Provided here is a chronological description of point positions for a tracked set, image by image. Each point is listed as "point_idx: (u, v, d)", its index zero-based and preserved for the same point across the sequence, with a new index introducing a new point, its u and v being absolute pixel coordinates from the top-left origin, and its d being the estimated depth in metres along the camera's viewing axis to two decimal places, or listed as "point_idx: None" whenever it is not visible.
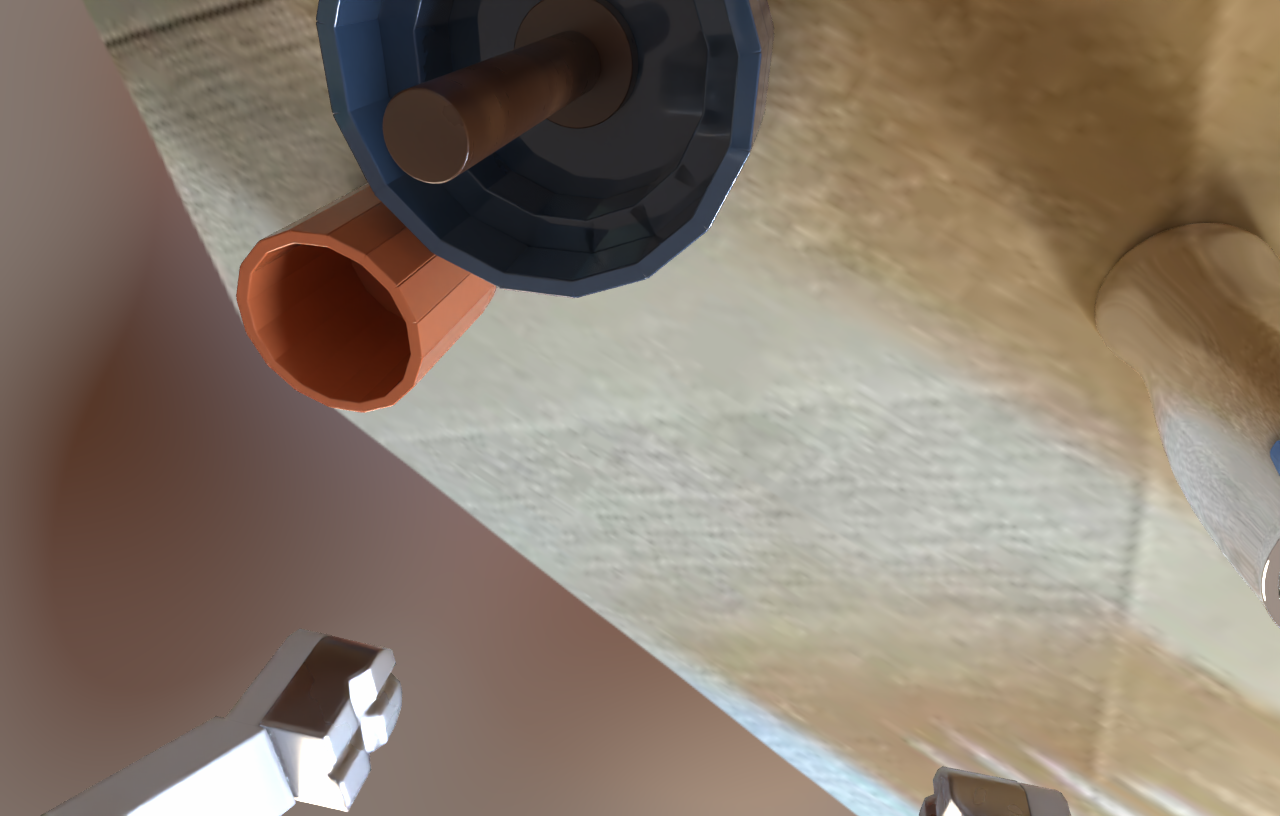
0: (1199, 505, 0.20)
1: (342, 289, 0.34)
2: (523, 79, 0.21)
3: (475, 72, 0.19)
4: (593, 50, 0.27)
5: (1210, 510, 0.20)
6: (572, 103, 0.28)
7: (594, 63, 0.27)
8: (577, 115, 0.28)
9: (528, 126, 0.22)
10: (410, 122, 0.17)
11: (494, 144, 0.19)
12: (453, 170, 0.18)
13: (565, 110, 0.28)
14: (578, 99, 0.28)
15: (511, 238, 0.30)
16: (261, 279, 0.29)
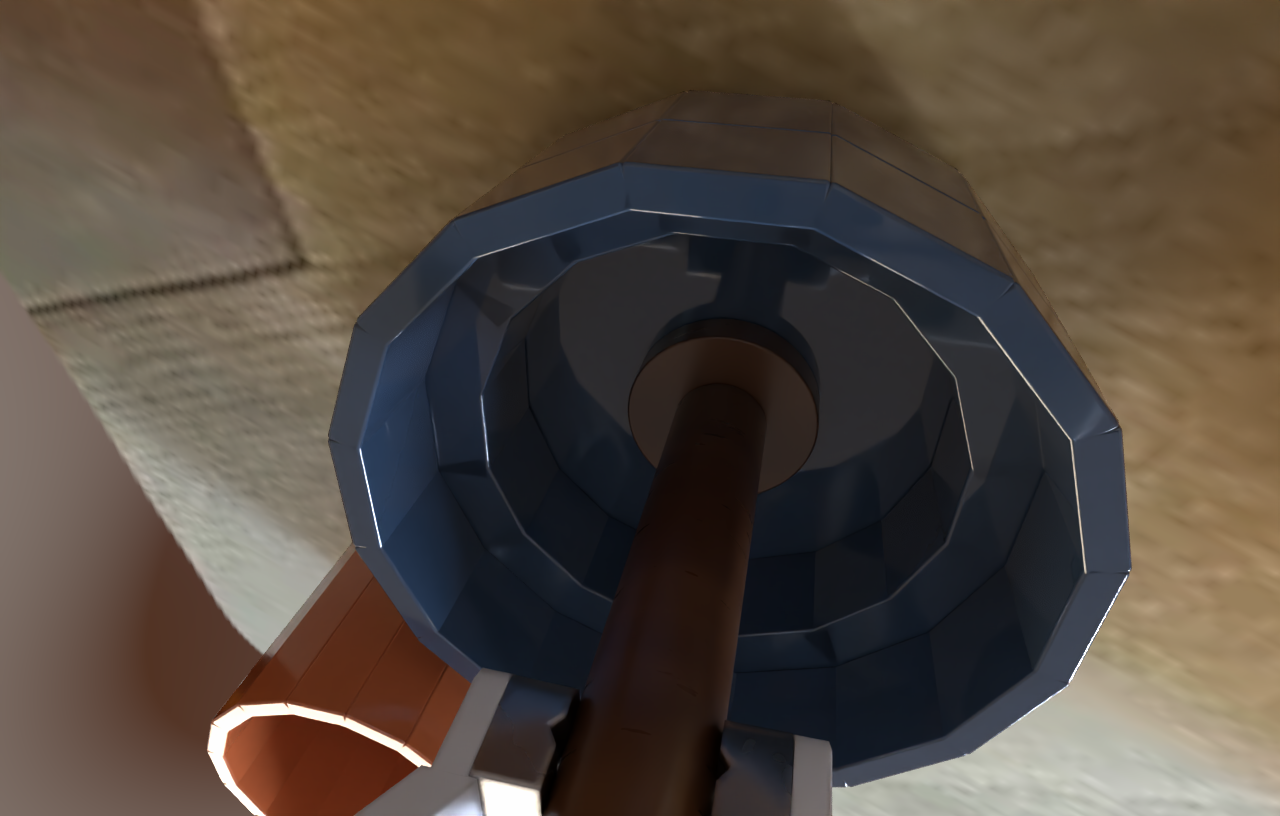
0: None
1: None
2: (718, 666, 0.11)
3: (655, 756, 0.10)
4: (760, 419, 0.17)
5: None
6: None
7: (763, 440, 0.17)
8: None
9: None
10: None
11: None
12: None
13: None
14: None
15: None
16: None
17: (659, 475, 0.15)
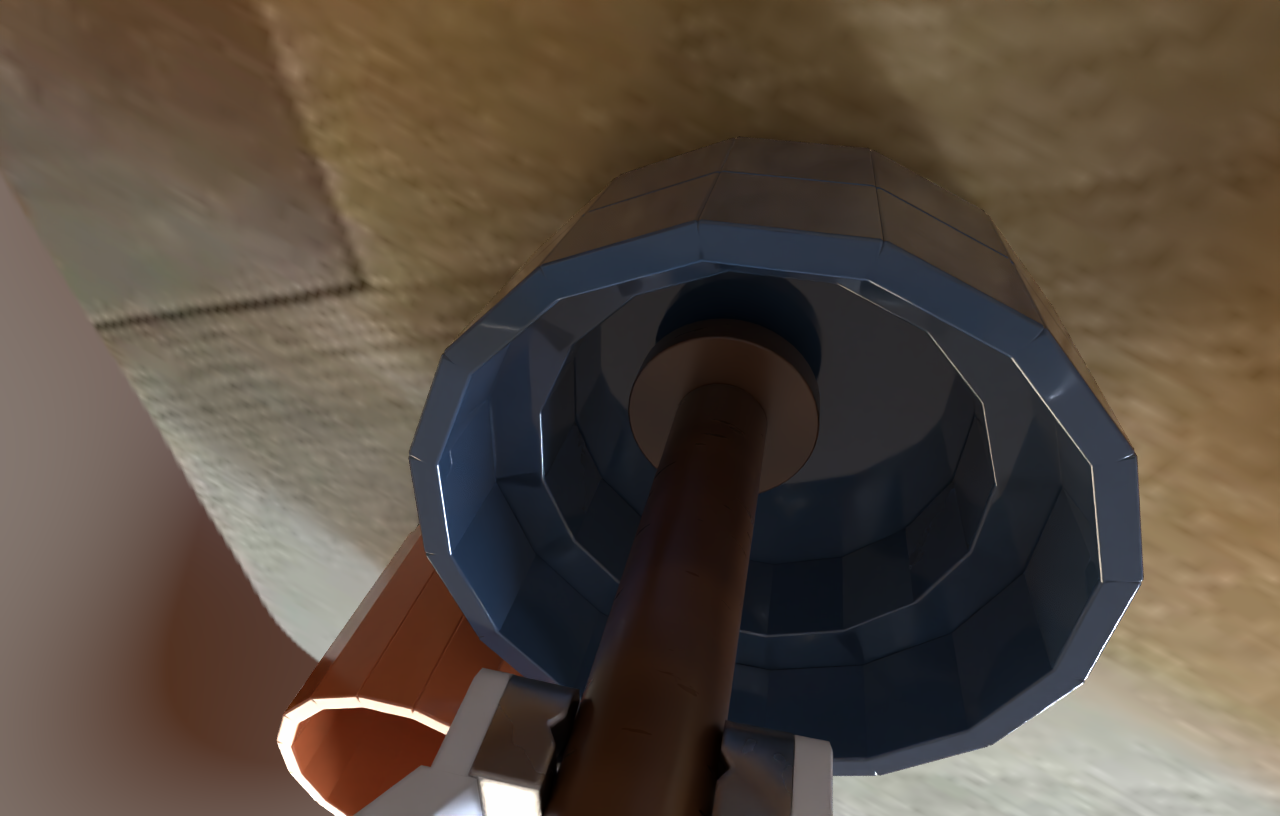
0: None
1: None
2: (719, 666, 0.11)
3: (656, 756, 0.10)
4: (761, 419, 0.17)
5: None
6: None
7: (763, 440, 0.17)
8: None
9: None
10: None
11: None
12: None
13: None
14: None
15: None
16: None
17: (660, 475, 0.15)
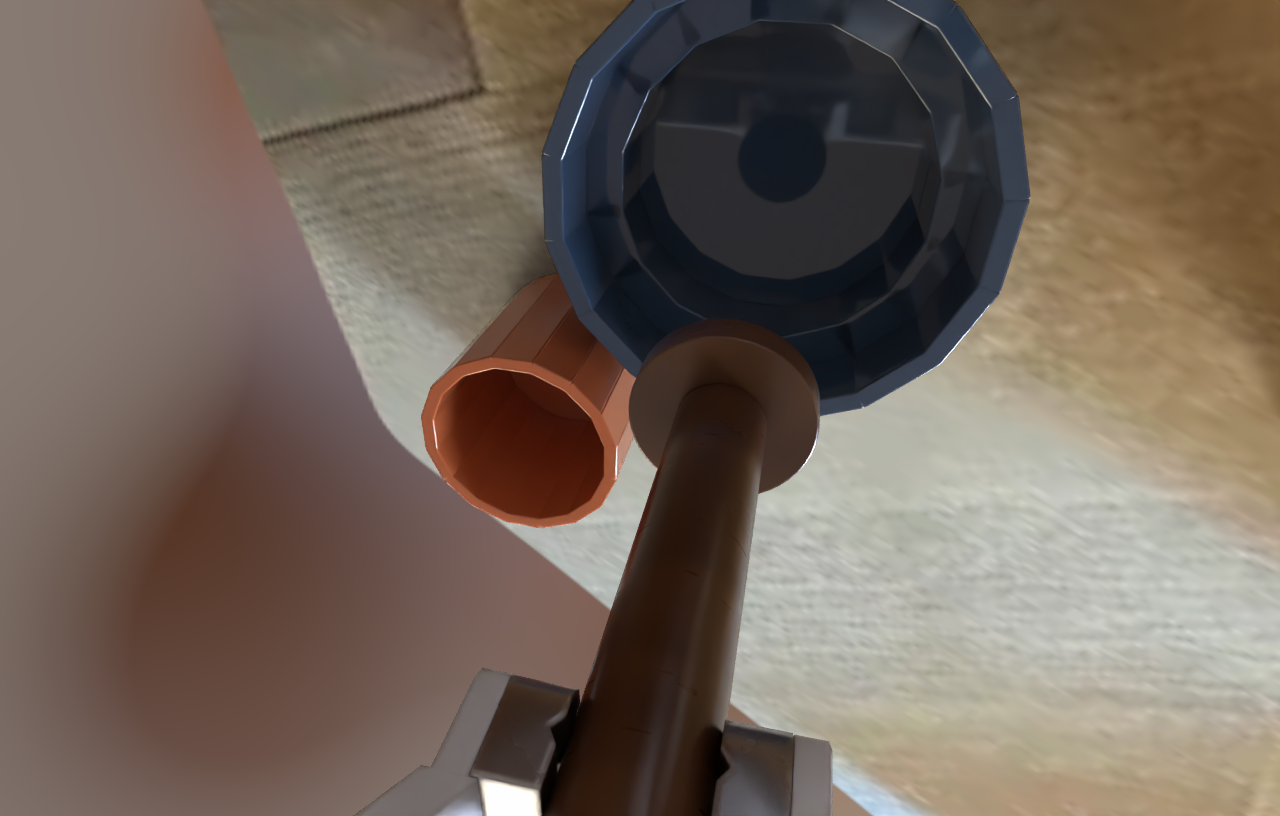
0: None
1: (498, 388, 0.34)
2: (719, 666, 0.11)
3: (656, 755, 0.10)
4: (761, 419, 0.17)
5: None
6: None
7: (764, 440, 0.17)
8: None
9: None
10: None
11: None
12: None
13: None
14: None
15: None
16: (446, 397, 0.28)
17: (660, 475, 0.15)
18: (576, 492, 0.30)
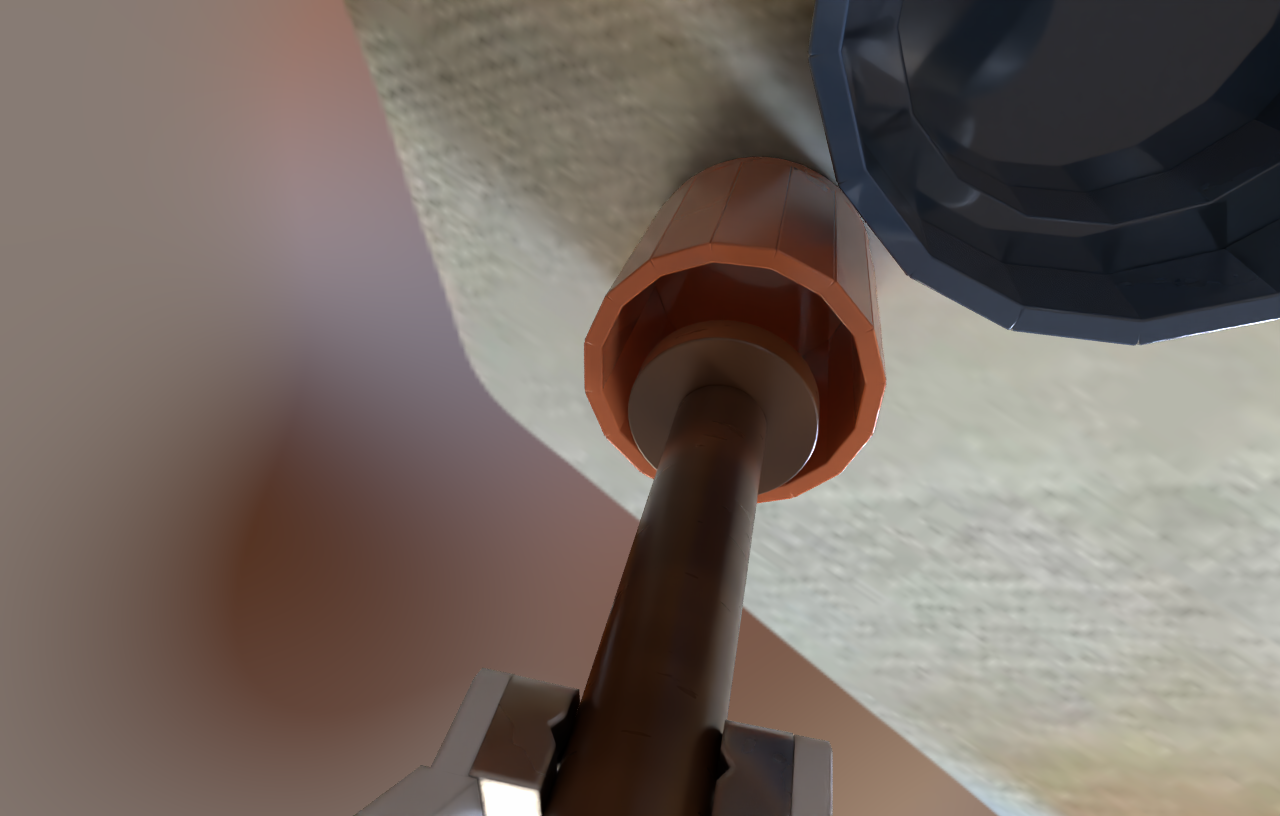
0: None
1: (652, 319, 0.25)
2: (718, 668, 0.11)
3: (655, 758, 0.10)
4: (761, 421, 0.17)
5: None
6: None
7: (763, 442, 0.17)
8: None
9: None
10: None
11: None
12: None
13: None
14: None
15: (979, 251, 0.20)
16: (619, 314, 0.19)
17: (659, 477, 0.15)
18: None
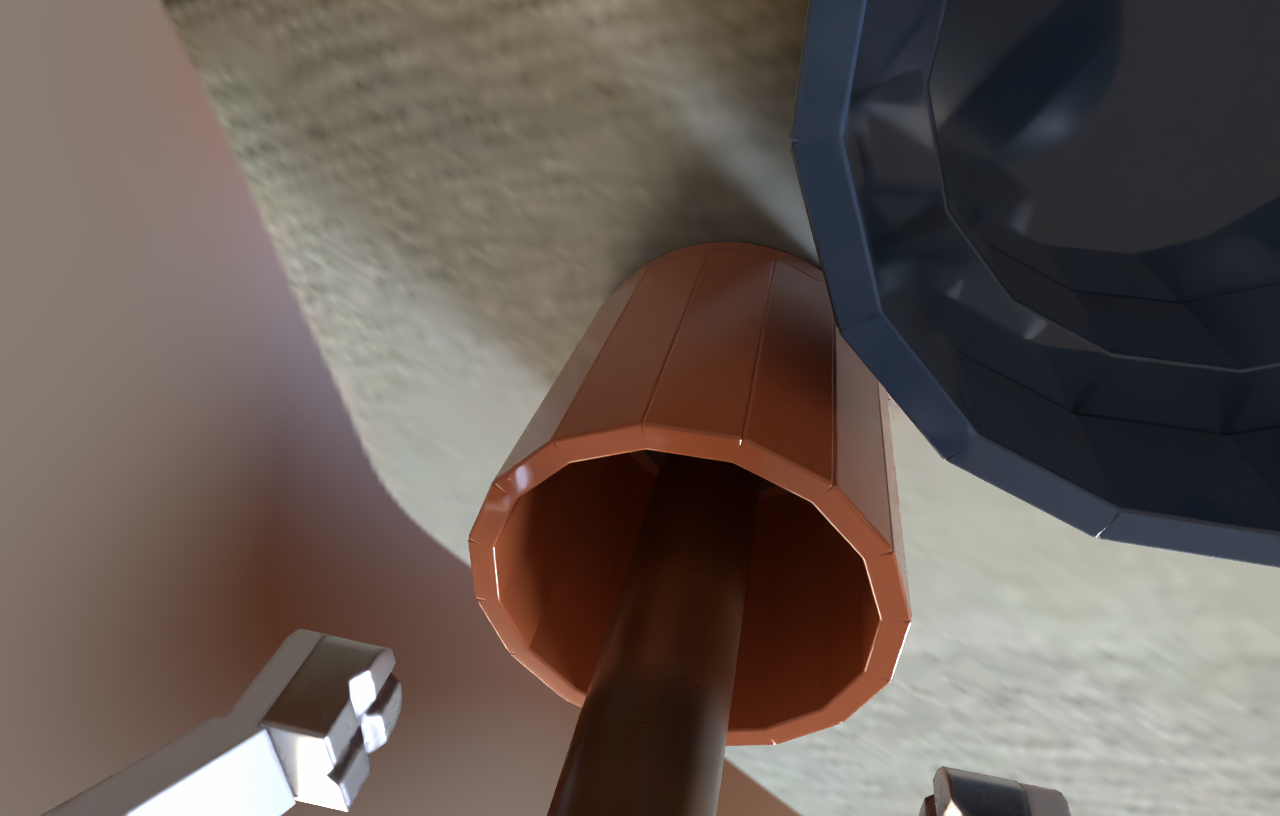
0: None
1: None
2: (721, 660, 0.11)
3: (661, 746, 0.10)
4: None
5: None
6: None
7: None
8: None
9: None
10: None
11: None
12: None
13: None
14: None
15: (1041, 399, 0.14)
16: (520, 496, 0.13)
17: (662, 474, 0.15)
18: (767, 670, 0.15)
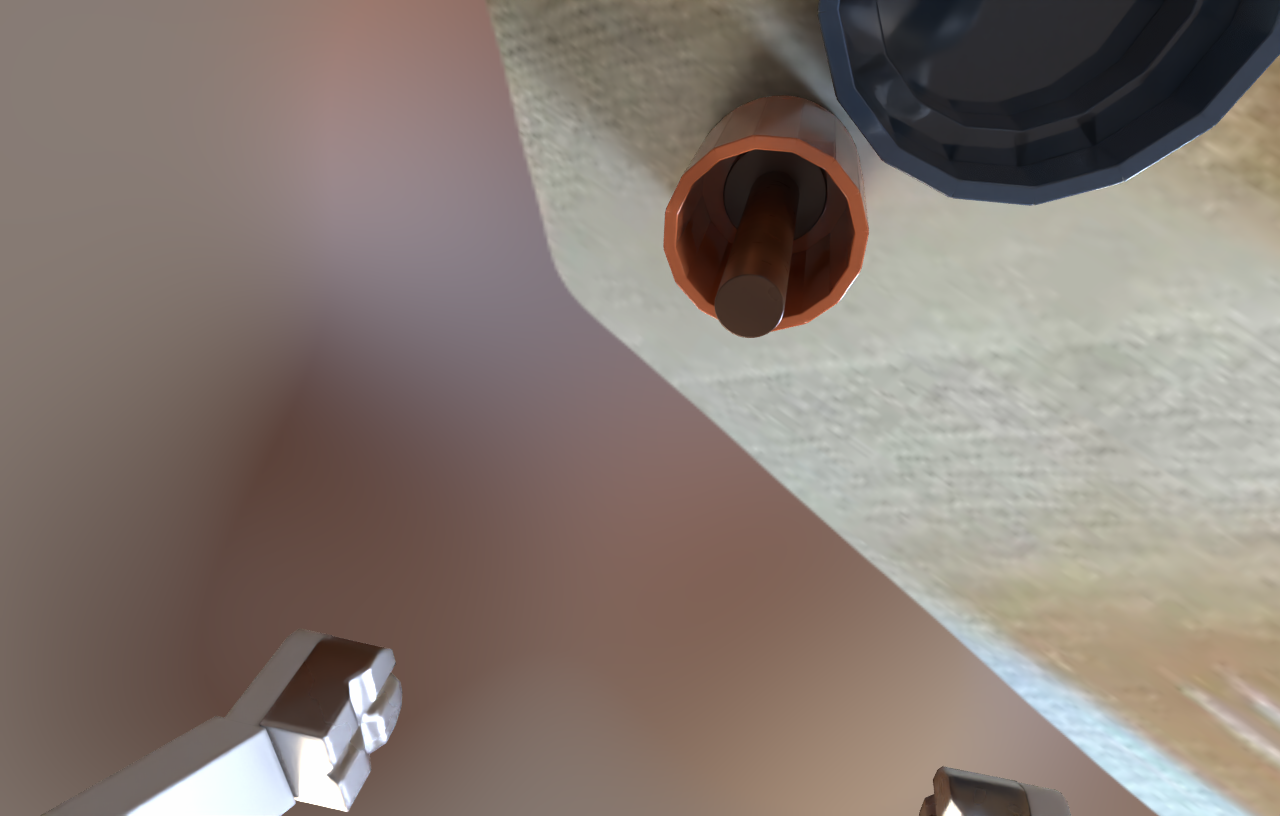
0: None
1: (701, 216, 0.34)
2: (786, 241, 0.27)
3: (767, 246, 0.25)
4: (796, 188, 0.32)
5: None
6: None
7: (798, 199, 0.32)
8: None
9: None
10: (739, 296, 0.23)
11: None
12: (766, 329, 0.24)
13: None
14: None
15: (933, 152, 0.29)
16: (688, 192, 0.29)
17: (749, 200, 0.31)
18: (801, 299, 0.31)
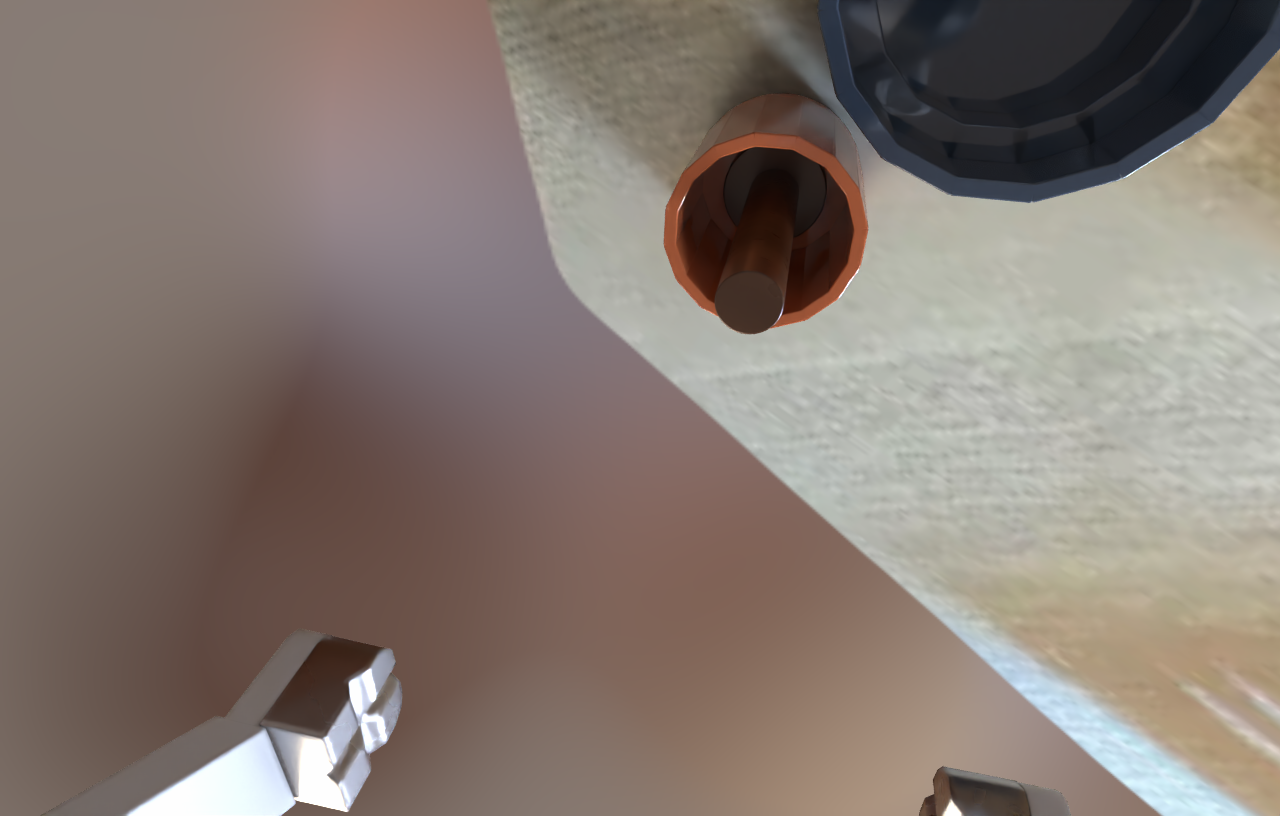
0: None
1: (702, 213, 0.34)
2: (786, 238, 0.27)
3: (767, 243, 0.25)
4: (796, 185, 0.33)
5: None
6: None
7: (797, 196, 0.33)
8: None
9: None
10: (739, 293, 0.23)
11: None
12: (766, 326, 0.24)
13: None
14: None
15: (932, 149, 0.29)
16: (689, 189, 0.29)
17: (749, 198, 0.31)
18: (801, 296, 0.31)
